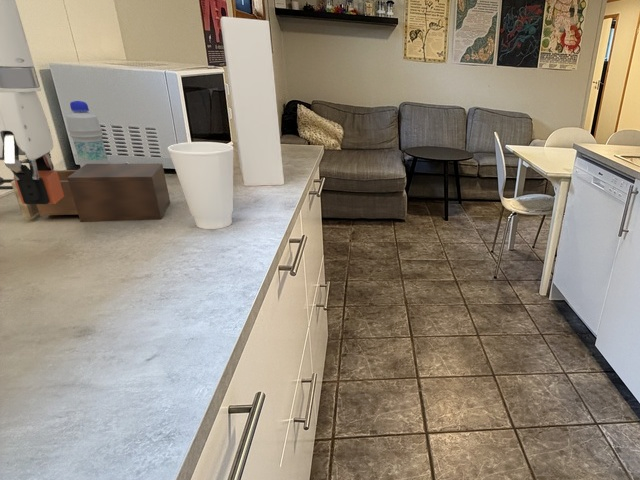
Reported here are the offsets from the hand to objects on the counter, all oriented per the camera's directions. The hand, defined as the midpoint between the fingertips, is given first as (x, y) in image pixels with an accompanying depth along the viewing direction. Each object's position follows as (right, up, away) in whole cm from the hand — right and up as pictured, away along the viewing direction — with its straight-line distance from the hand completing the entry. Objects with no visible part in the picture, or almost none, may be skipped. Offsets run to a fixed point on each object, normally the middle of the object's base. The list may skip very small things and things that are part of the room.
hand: (43, 197), depth 78 cm
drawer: (-16, +2, +21) cm, 27 cm away
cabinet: (-3, +3, +26) cm, 26 cm away
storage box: (+12, +19, +61) cm, 65 cm away
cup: (+17, -1, +23) cm, 29 cm away
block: (0, 0, 0) cm, 0 cm away
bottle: (-22, +12, +42) cm, 49 cm away
